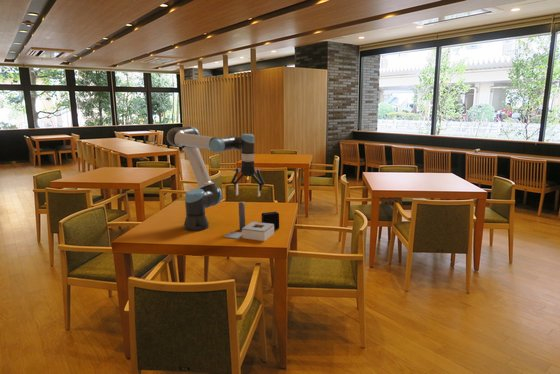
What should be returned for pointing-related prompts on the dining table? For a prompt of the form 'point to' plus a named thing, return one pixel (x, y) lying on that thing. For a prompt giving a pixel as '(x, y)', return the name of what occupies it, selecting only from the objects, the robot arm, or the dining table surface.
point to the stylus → (241, 215)
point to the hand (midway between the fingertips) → (248, 195)
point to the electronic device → (271, 218)
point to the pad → (233, 235)
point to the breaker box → (258, 231)
